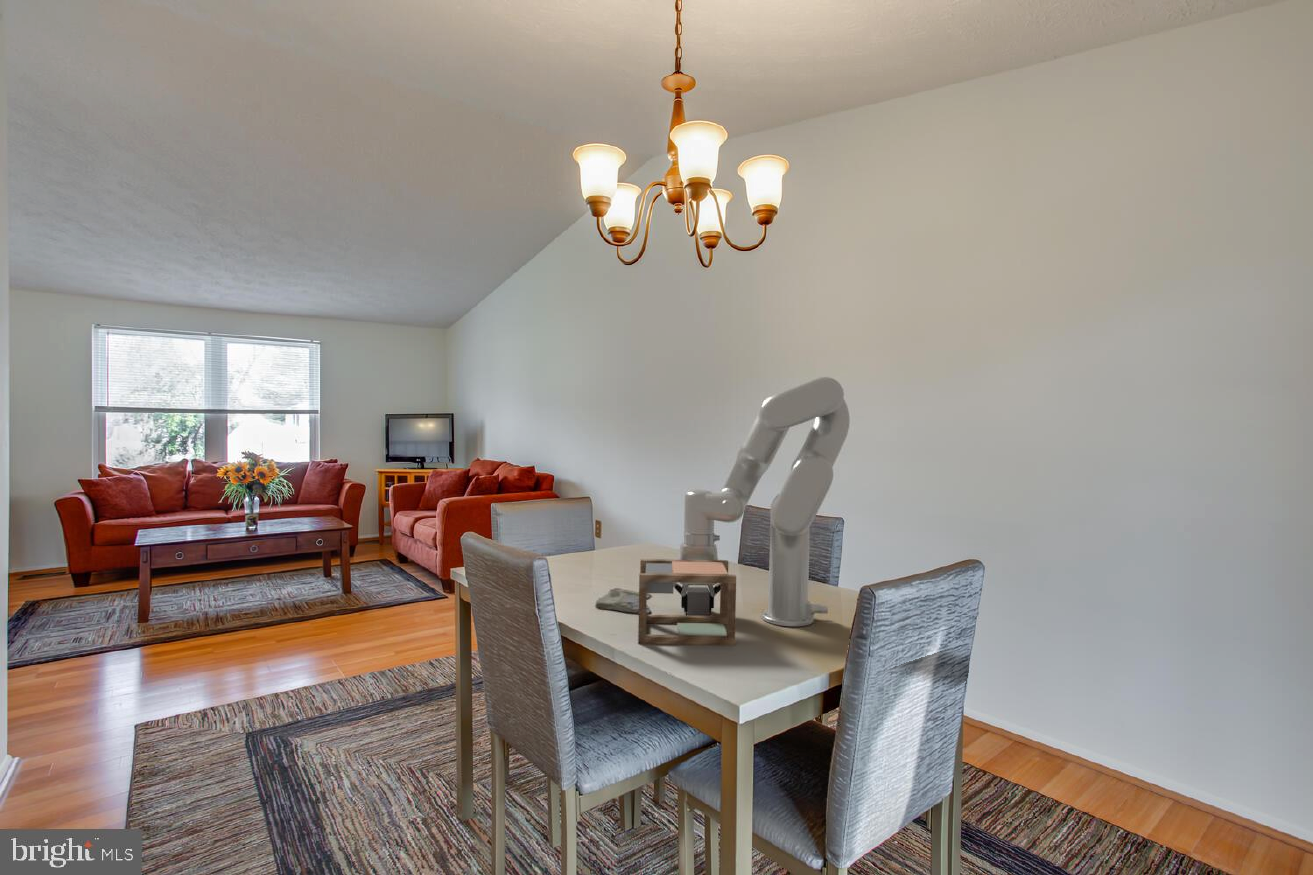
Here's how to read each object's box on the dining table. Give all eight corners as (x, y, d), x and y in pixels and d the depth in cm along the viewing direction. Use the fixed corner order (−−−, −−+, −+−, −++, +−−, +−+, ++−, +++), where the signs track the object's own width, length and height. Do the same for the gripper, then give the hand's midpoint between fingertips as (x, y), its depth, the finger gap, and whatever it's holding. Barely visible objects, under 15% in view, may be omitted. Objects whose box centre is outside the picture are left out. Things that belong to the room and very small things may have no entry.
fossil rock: (610, 594, 181) (610, 585, 181) (662, 598, 178) (662, 590, 178) (590, 612, 164) (591, 602, 164) (648, 617, 161) (648, 607, 161)
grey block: (707, 610, 166) (707, 586, 166) (709, 616, 161) (709, 592, 161) (686, 609, 166) (686, 586, 166) (687, 616, 161) (687, 592, 161)
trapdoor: (645, 593, 142) (645, 572, 142) (645, 579, 154) (645, 560, 154) (727, 594, 142) (728, 574, 142) (721, 580, 154) (722, 562, 154)
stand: (638, 643, 140) (639, 574, 140) (639, 620, 156) (640, 558, 156) (734, 645, 141) (736, 576, 140) (726, 622, 157) (727, 560, 156)
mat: (723, 625, 154) (723, 623, 154) (728, 641, 143) (728, 639, 143) (677, 624, 154) (677, 622, 154) (679, 640, 143) (679, 638, 143)
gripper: (731, 537, 167) (729, 607, 167) (664, 536, 167) (663, 606, 167) (734, 542, 159) (733, 615, 160) (665, 541, 159) (663, 614, 160)
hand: (697, 610), depth 164 cm, fingers closed on grey block, 5 cm apart
